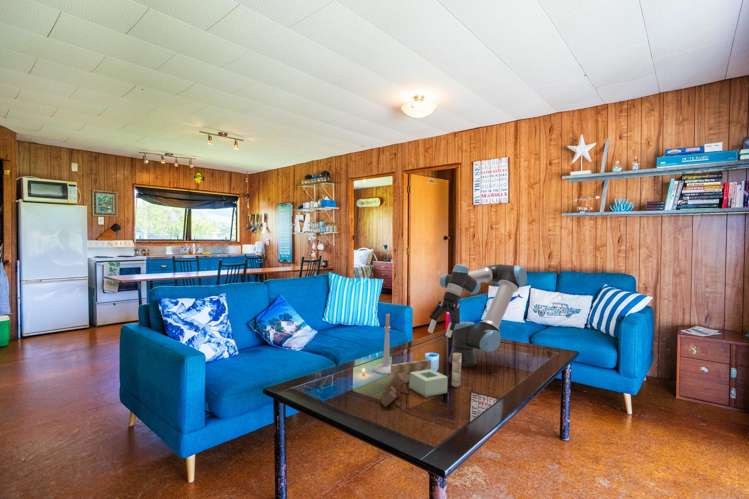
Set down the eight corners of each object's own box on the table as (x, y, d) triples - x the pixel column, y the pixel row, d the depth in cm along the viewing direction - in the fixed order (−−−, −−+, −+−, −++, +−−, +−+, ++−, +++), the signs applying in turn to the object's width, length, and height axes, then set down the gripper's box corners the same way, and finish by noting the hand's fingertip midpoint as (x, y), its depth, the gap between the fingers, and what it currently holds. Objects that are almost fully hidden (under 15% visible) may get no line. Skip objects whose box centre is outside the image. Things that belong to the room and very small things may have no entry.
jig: (427, 379, 194) (428, 358, 194) (456, 393, 176) (457, 371, 176) (390, 385, 183) (390, 364, 183) (416, 402, 165) (417, 379, 165)
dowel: (456, 385, 186) (457, 352, 186) (462, 388, 183) (463, 354, 182) (449, 386, 184) (451, 353, 184) (455, 389, 181) (456, 355, 180)
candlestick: (398, 367, 211) (400, 311, 210) (397, 375, 198) (399, 316, 198) (374, 365, 212) (376, 310, 212) (372, 373, 199) (374, 314, 199)
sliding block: (430, 383, 184) (430, 369, 184) (447, 392, 174) (447, 377, 174) (409, 387, 178) (409, 372, 178) (425, 397, 168) (426, 381, 168)
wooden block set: (386, 413, 160) (400, 398, 156) (372, 396, 162) (386, 381, 159) (405, 396, 175) (418, 382, 171) (391, 381, 178) (405, 367, 174)
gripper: (431, 289, 204) (417, 328, 199) (464, 292, 182) (450, 335, 177) (441, 295, 207) (428, 333, 202) (475, 298, 186) (461, 341, 180)
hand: (438, 334), depth 189 cm, fingers open, 13 cm apart
